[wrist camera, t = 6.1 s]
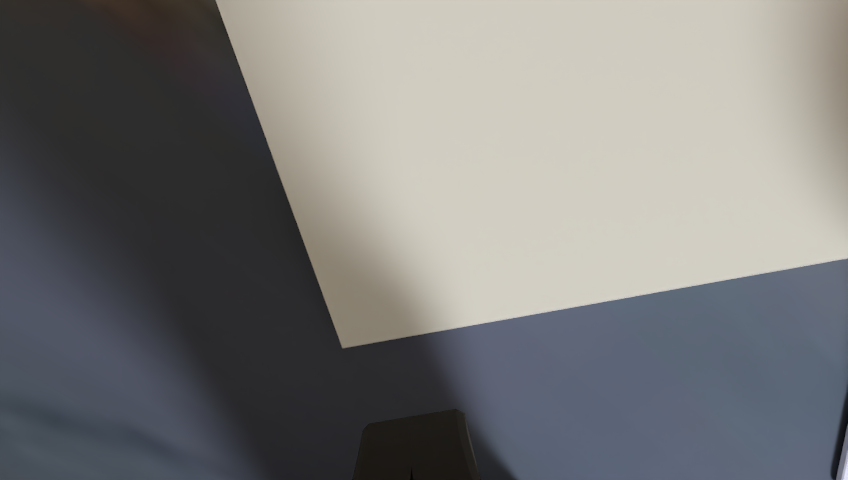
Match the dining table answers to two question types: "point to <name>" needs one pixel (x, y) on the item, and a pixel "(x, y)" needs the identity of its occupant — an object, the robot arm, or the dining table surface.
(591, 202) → the mat
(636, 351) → the dining table surface
